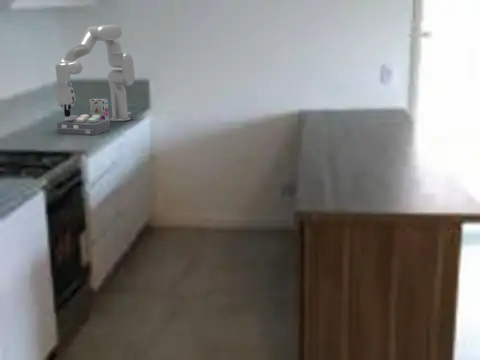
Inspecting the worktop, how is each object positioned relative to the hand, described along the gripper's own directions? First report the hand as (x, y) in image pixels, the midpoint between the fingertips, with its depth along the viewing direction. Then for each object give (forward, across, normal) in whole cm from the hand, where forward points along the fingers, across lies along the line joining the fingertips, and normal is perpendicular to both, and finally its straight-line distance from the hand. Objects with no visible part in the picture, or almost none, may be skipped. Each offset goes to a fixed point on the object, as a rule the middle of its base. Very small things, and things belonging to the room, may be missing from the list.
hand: (67, 116), depth 406 cm
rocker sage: (+2, -16, -3) cm, 16 cm away
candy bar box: (+10, -7, -22) cm, 25 cm away
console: (+10, -8, -3) cm, 13 cm away
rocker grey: (+2, 0, -3) cm, 3 cm away
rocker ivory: (+2, -8, -3) cm, 9 cm away
